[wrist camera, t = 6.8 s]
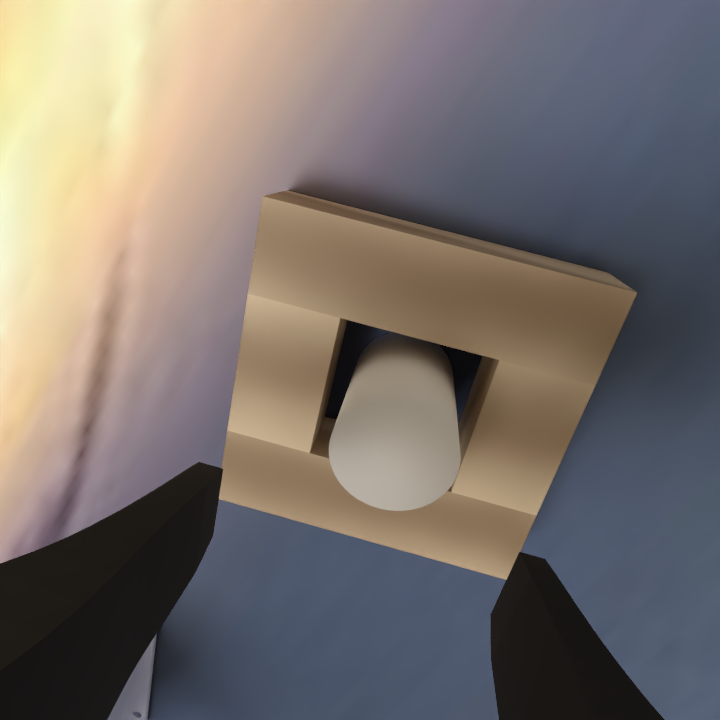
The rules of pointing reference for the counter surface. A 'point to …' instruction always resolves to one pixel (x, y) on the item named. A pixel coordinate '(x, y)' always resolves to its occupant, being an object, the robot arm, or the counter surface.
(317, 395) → the socket block
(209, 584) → the counter surface
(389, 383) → the peg
